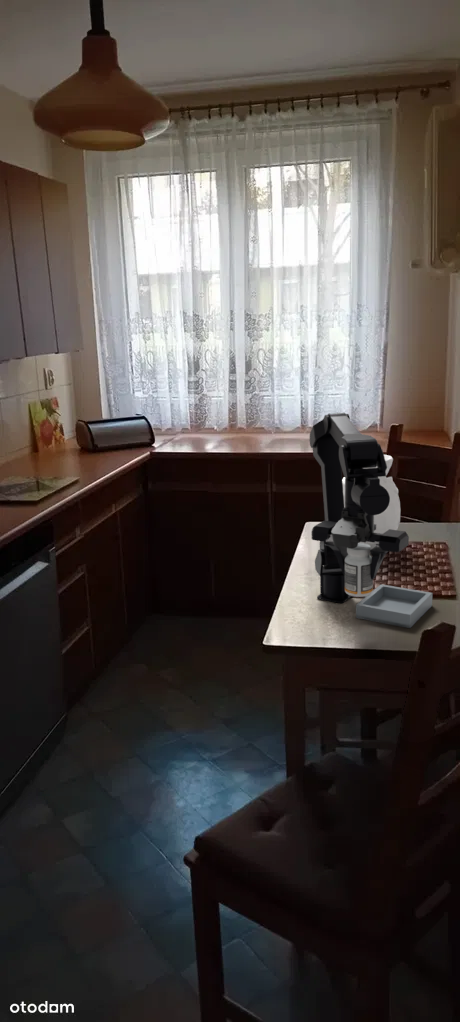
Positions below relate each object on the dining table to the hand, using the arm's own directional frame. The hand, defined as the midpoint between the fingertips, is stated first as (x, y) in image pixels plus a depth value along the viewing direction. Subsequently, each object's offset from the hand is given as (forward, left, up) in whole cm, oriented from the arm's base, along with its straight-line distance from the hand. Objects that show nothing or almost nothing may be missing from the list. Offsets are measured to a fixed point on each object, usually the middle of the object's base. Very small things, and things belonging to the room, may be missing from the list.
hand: (358, 576), depth 159 cm
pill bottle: (0, 0, -4) cm, 4 cm away
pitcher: (-21, +54, -12) cm, 59 cm away
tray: (+3, +13, -12) cm, 18 cm away
